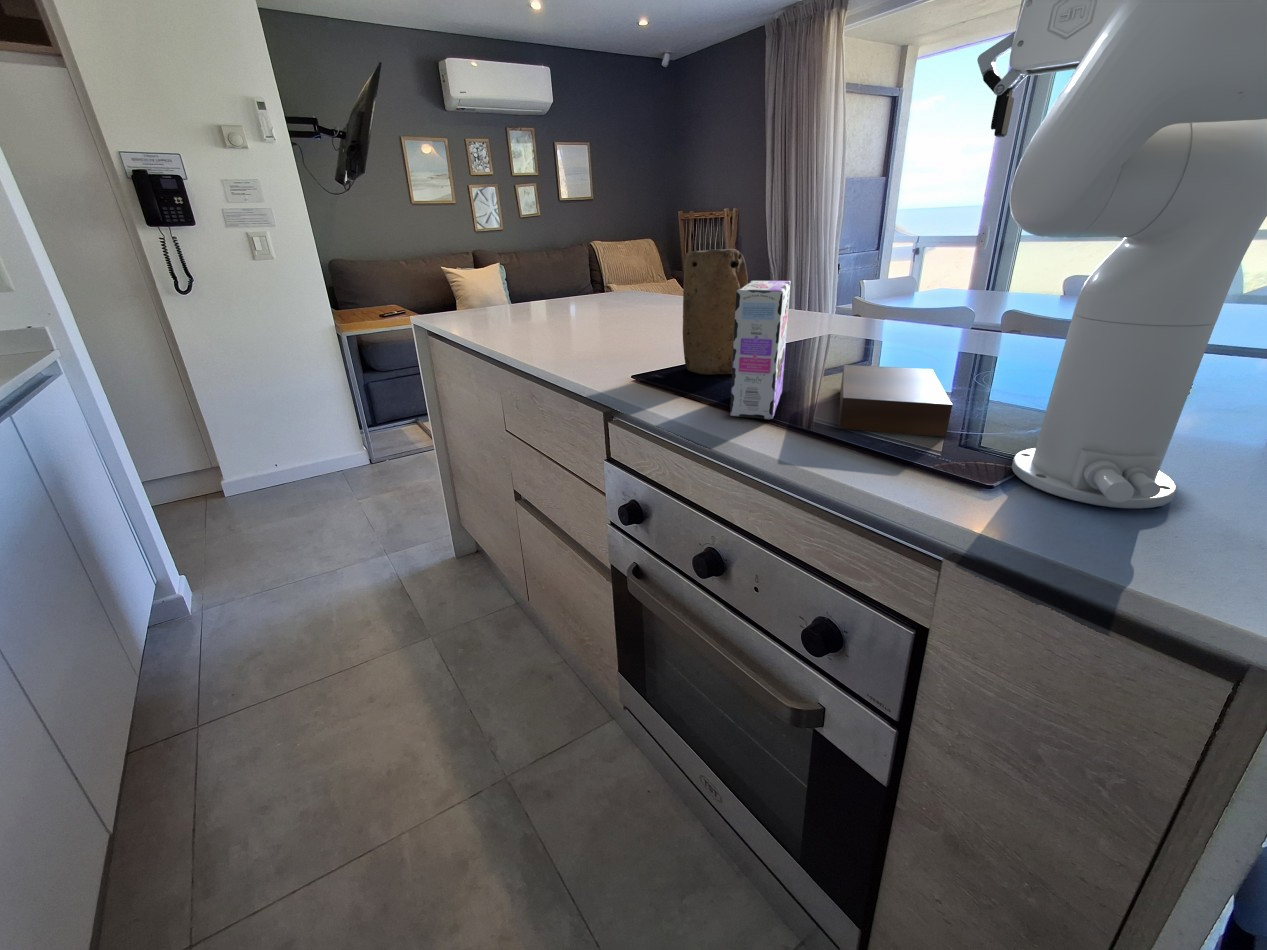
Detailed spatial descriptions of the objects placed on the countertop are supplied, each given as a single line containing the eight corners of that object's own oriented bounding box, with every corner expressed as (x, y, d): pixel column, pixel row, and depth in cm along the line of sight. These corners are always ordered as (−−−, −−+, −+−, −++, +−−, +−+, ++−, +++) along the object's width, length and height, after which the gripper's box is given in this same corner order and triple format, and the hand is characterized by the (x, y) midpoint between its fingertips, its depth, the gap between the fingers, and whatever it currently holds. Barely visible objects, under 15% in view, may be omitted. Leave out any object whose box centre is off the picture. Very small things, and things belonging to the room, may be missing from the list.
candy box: (773, 421, 74) (783, 289, 68) (728, 417, 76) (734, 289, 70) (783, 392, 86) (792, 278, 80) (744, 390, 88) (750, 278, 81)
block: (679, 374, 98) (680, 250, 90) (689, 364, 105) (691, 248, 97) (742, 378, 95) (749, 249, 87) (748, 367, 102) (755, 247, 93)
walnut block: (945, 437, 68) (952, 404, 66) (839, 428, 71) (843, 397, 70) (927, 395, 83) (932, 368, 81) (840, 390, 87) (843, 364, 85)
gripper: (989, -52, 60) (955, 137, 67) (1216, -114, 49) (1148, 118, 56) (1004, -32, 65) (971, 142, 72) (1213, -84, 54) (1151, 125, 61)
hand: (1049, 131), depth 64 cm, fingers open, 9 cm apart
